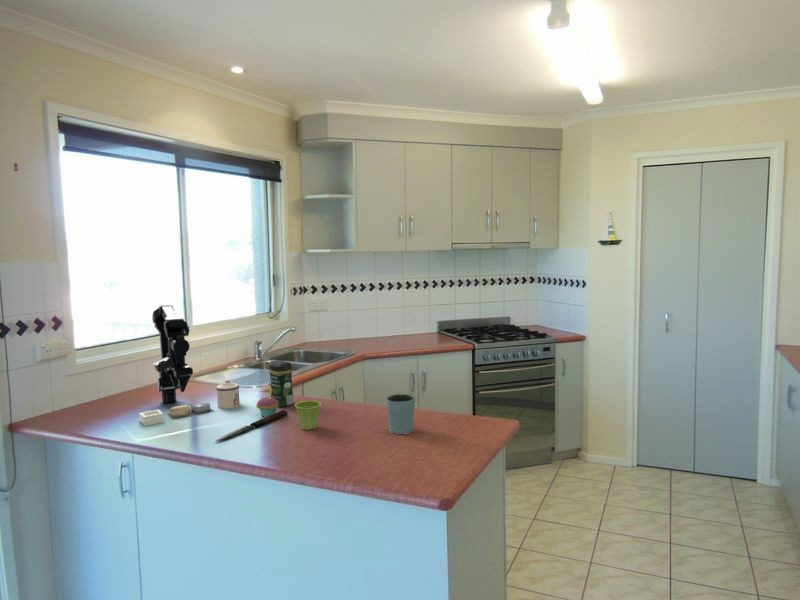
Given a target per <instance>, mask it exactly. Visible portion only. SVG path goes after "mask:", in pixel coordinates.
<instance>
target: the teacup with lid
mask: <svg viewBox="0 0 800 600" xmlns="http://www.w3.org/2000/svg"><path fill="white" fill-rule="evenodd" d="M216 396H217V397H216V398H217V401H216V402H217V408H218V409H223V410H224V409H226V410H227V409H234V408H237V407H239V406H240V405H241V403H240V385H239V384H238V383H235V382H233V381H231V380H230V378H229V379H225V380H224V382H222V383H221V384H218V385H217V386H216Z"/></svg>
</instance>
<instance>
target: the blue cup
mask: <svg viewBox="0 0 800 600" xmlns="http://www.w3.org/2000/svg"><path fill="white" fill-rule="evenodd" d="M385 401H386V407H387V420H388V432H389V433H390V432H392V433H396V434H395V435H397V434H404V433H410V432H412V431H413V432H414V427H415V423H414V419H415V404H416V403H415V401H416V397H415V395H413V394H409V393H408V394H407V393H395V394H390V395H389V396H386V398H385ZM413 432H412V433H413ZM392 433H391V434H392ZM410 434H411V433H410Z"/></svg>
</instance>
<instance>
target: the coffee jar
mask: <svg viewBox="0 0 800 600" xmlns="http://www.w3.org/2000/svg"><path fill="white" fill-rule="evenodd" d="M268 365H269V366H268V371H269V377H270V379H269V380H270V384H269V386H270V387H269V389H270V388H272V390H271V397H273V398H275V399H277V400H278V402H279V406H278V407H280V408H282V407H283V408H284V407H290V406H291V405H292V404H294V392H293V382H292V380H293V379H292V378H293V377H292V374H293V366H292V362H289V361H284V360H279V359H277V360H272V361H270V363H269V364H268ZM289 405H290V406H289Z"/></svg>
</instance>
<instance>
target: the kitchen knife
mask: <svg viewBox="0 0 800 600" xmlns="http://www.w3.org/2000/svg"><path fill="white" fill-rule="evenodd" d="M283 416H284V417H287V416H288V411H286V410H283V409H282V410H280V411H276V412H275V414H272V415H270V416H268V417H262V418H261V419H258V420H256V421H254V422H252V423H250V424H249V425H243V426H241V427H239V428H237V429H234V430H232V431H230V432H228V433H226V434H225V435H223V436H221V437H219V438H218V439H216V440H215V442H220V441H224V440H227V439H231V438H232V437H235V436H238V435H241V434H243V433H246V432H248V431H251V430H254V429H259V428H261V427H264V426H265V424H266V425H268V424H270V423H272V421H273V422H274V421H277V420H279V418H280V419H281V417H282V418H284V417H283ZM263 425H264V426H263Z"/></svg>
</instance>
